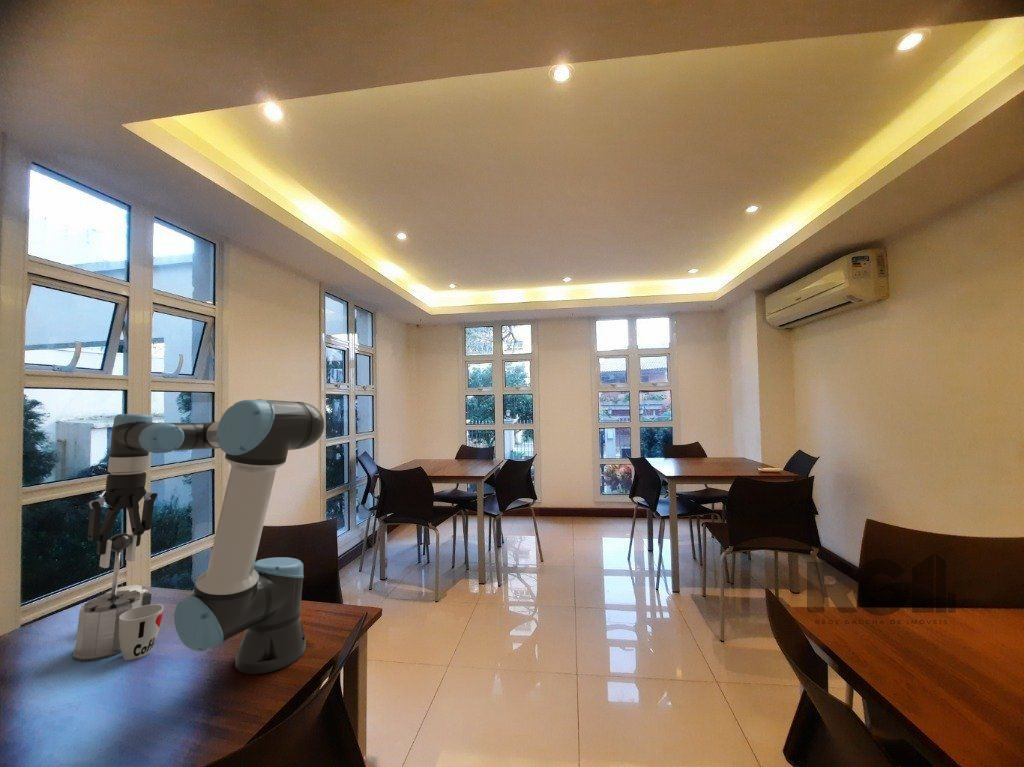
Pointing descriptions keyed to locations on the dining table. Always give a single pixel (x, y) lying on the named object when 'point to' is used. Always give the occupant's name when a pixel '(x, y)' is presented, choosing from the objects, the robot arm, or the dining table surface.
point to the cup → (139, 630)
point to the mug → (131, 589)
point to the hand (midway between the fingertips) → (117, 563)
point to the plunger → (118, 558)
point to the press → (104, 624)
